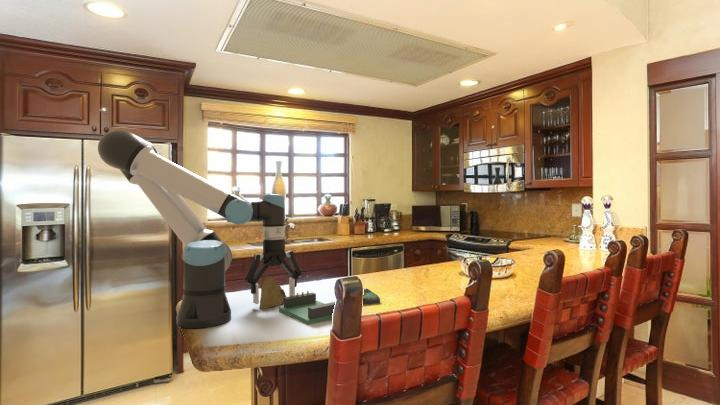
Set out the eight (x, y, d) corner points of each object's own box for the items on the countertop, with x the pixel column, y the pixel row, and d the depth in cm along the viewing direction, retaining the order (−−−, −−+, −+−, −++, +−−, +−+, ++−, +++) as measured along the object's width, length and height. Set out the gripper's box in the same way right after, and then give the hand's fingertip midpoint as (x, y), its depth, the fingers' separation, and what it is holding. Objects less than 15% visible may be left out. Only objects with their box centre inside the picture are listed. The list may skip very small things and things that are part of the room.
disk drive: (341, 297, 141) (352, 306, 127) (341, 290, 141) (352, 298, 127) (367, 295, 144) (381, 304, 130) (367, 288, 144) (380, 296, 130)
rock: (287, 293, 135) (259, 291, 132) (291, 277, 131) (262, 274, 128) (287, 317, 127) (257, 316, 124) (291, 301, 122) (260, 299, 119)
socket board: (308, 324, 106) (308, 306, 106) (279, 310, 120) (279, 295, 120) (346, 315, 115) (346, 298, 115) (315, 303, 129) (315, 288, 129)
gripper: (243, 241, 117) (243, 308, 117) (310, 236, 133) (311, 295, 132) (234, 240, 123) (235, 304, 122) (300, 235, 138) (300, 292, 138)
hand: (274, 299), depth 127 cm, fingers open, 13 cm apart
